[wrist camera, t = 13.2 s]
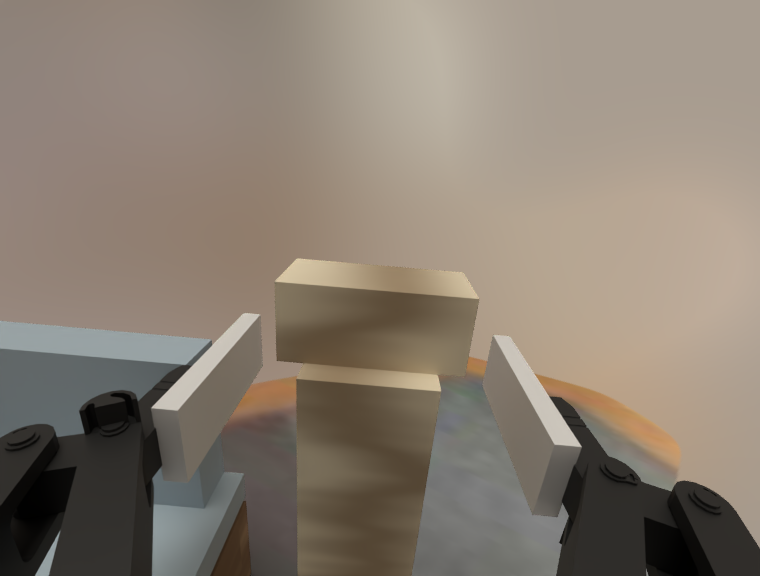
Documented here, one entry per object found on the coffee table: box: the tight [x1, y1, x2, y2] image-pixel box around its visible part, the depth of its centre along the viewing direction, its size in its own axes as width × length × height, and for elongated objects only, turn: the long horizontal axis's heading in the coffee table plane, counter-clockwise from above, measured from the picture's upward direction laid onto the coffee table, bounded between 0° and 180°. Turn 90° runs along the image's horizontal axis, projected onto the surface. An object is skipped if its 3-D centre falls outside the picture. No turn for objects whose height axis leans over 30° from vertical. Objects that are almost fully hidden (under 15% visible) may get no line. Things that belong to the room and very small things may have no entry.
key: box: [275, 259, 479, 576], centre depth 14 cm, size 6×4×20 cm
